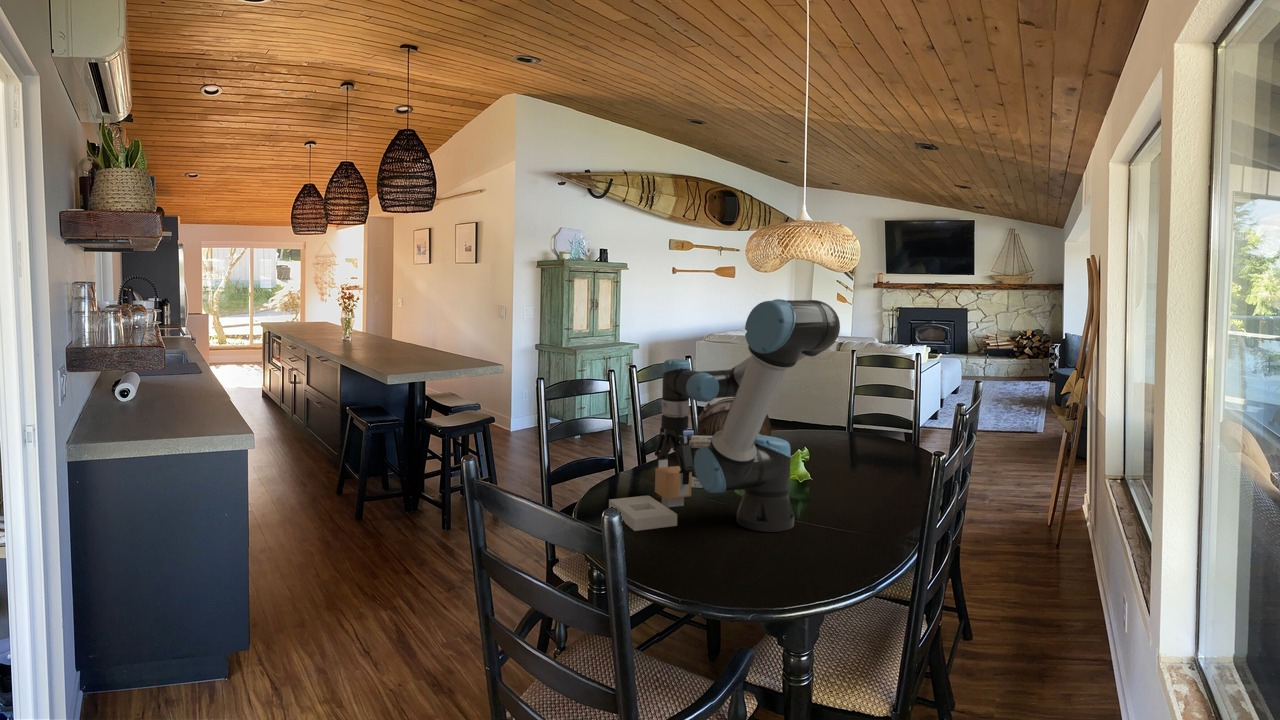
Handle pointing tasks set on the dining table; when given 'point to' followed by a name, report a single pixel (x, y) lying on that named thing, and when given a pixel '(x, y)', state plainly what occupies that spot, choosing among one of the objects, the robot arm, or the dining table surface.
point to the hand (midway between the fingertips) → (672, 488)
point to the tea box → (695, 444)
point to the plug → (670, 485)
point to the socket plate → (644, 513)
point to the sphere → (721, 418)
